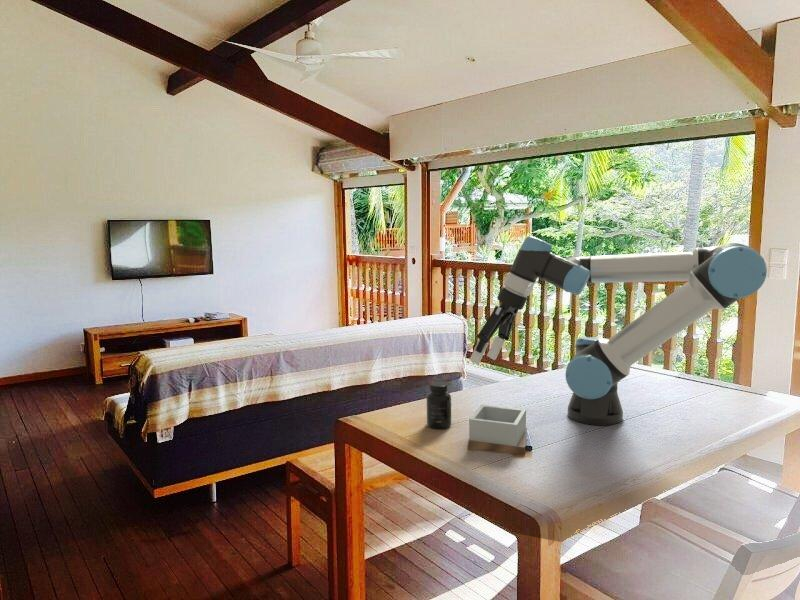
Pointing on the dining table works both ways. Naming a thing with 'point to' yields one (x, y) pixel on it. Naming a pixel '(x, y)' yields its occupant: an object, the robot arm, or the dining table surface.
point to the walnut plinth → (499, 446)
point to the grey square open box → (497, 425)
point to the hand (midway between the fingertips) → (482, 360)
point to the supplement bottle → (438, 406)
